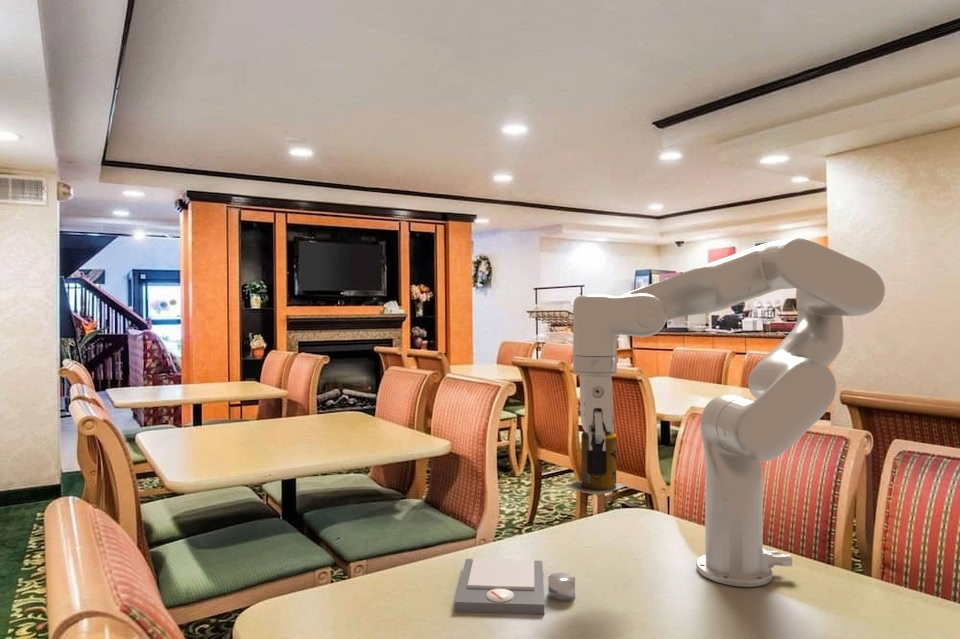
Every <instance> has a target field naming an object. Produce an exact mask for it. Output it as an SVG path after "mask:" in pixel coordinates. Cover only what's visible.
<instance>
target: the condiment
mask: <svg viewBox="0 0 960 639" xmlns="http://www.w3.org/2000/svg"><path fill="white" fill-rule="evenodd" d="M593 419H594V416H593ZM613 421H614V422H615V418H613ZM591 432H595V429H591ZM593 437H595V436H592V439H593ZM580 442H581V443H580V444H581V449H580V450H581V452H580V453H581V454H580V455H581V460H580V461H581V463H580V465H581V466H580V468H581V470H580V471H581V472H580V477H581V479H580V480H579V481H575V482H572V483H569V484H565V485H563V487H566V488H568V489H570V490H575V491H578V492H582V493H583V494H584V493H586V494H589V495H595V496H600V495H604V494H606V493H610V492H613V491H616V490H619V489H622V488H624V487H626V486H627V484H622V483H617V434H616V433H615V427H614V432H613V433H612V434H609V432H607V430H606V427H605V442H606V451H607V472H606V474H588V473H587V450H589V440H588V433H586V432H585V431H584V430H583V431H582V433H581V441H580Z"/></svg>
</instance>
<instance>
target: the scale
mask: <svg viewBox="0 0 960 639" xmlns="http://www.w3.org/2000/svg"><path fill="white" fill-rule="evenodd" d="M543 563H544V562H543V560H534V559H514V558H513V559H512V558H511V559H507V558H465V560H464V564H463V565H464V566H463V568H462V573H461V577H460V580H459V584H458V588H457V590H456V591H457V592H456V595H455V598H454V612H460V613H461V612H462V613H463V612H466V613H468V612H470V613H493V614H495V613H497V614H498V613H499V614H526V615H531V614H532V615H545V592H544V590H545V589H544V587H545V586H544V567H543Z"/></svg>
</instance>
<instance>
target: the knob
mask: <svg viewBox="0 0 960 639" xmlns="http://www.w3.org/2000/svg"><path fill="white" fill-rule="evenodd" d="M547 577H548V578H547V579H548V588H547V589H548V590H547V591H548V594H547V595H548V598H549V599H550V600H551V601H554V602H557V601H558V602H557V603H569V602H572V601H574V600H575V599H576V578H575V576H574V575H572V574H569V573H567V572H566V573H565V572H555V573H552V574H550V575H548V576H547ZM573 599H574V600H573ZM571 600H572V601H571Z"/></svg>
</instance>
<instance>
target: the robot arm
mask: <svg viewBox="0 0 960 639" xmlns="http://www.w3.org/2000/svg"><path fill="white" fill-rule="evenodd" d="M885 288H886V287H885V283H884V281H883V279H882V277H881V276H880V274H879V273H878V272H877V271H876V270H875V269H874V268H872V267H871V266H869V265H867V264H865V263H862V262H860V261H858V260H856V259H853V258H852V257H849V256H847V255H844V254H843V253H840V252H838V251H836V250H833V249H831V248H829V247H827V246H824V245H822V244H820V243H817V242H814V241H812V240H809V239H805V238H801V237H792V238H787V239H781V240H776V241H771V242H770V241H769V242H766V243H763V244H760V245H756V246H754V247H750V248H748V249H746V250H743V251H741V252H738V253H737V252H736V253H734V254H732V255H730V256H727V257H724V258H721V259H718V260H716V261H712V262H709V263H707V264H704V265H701V266H698V267H694V268H692V269H690V270H687V271H684V272H682V273H679V274H677V275H674V276H672V277H668V278H665V279H663V280H660V281H657V282H654V283H651V284H648V285H645V286H642V287H640V288H637V289H634V290H630V291H629V292H626V293H623V294H620V295H618V296H613V295H609V294H582V295H579V296H576V298H574V300H573V304H572V307H573V308H572V311H573V313H572V323H573V324H572V325H573V326H572V328H573V329H572V331H573V332H572V336H573V337H572V338H573V340H572V346H573V347H572V374H573V375H575V376H579V408H580V411H579V412H580V420H581V421H580V422H581V426H582V429H583V431H585V432H586V433H588V440H589V450H587V473H588V474H606V472H607V451H606V442H605V427H606V430H607V432H609V434H612V433H613V432H614V433H615V430H614V428H615V420H614V421H613V419H614V397H613V396H614V395H613V394H614V393H613V380H612V376H617V375H618V335H621V336H622V335H623V336H630V337H636V338H648V337H651V336H654V335H656V334H658V333H659V332H660V331H661V330H662V329H663V328H664V327H665V324H666V323H667V321H670V320H674V319H678V318H682V317H688V316H697V315H705V314H712V313H715V312H719V311H723V310H726V309H729V308H732V307H734V306H737V305H739V304H741V303H744V302H747V301H750V300H753V299H755V298H758V297H761V296H765V295H767V294H769V293H773V292H775V291H779V290H789V289H795V300H796V306H797V308H796V309H797V318H796V322H795V324H794V327H793V329H791V331H790V332H789V333H788V335H786V336H785V337H784V339H783V340H782V341H780V343H778V344H777V345H776V346H775V347H774V348H773V349H771V351H770V352H769V353H768V354H767V355H766V356H764V357H763V358H762V359H761V360H760V361H759V362H758V363H757V364H756V365H755V366H754V367H753V369H752V370H751V371H750V373H749V376H748V379H747V385H748V390H749V392H750V394H751V395H752V396H753V397H754V398H755V400H754V399H751V398H747V397H744V396H740V395H736V394H721V395H718V396H716V397H715V398H712V399H711V400H710V401H709V402H708V403H707V404H706V406H705V407H704V408H703V410H702V414H701V419H700V430H701V431H700V433H701V438H702V444H703V452H704V462H705V463H704V464H705V466H704V467H705V469H704V470H705V483H704V484H705V485H704V486H705V488H704V489H705V490H704V491H705V492H704V494H705V499H704V500H705V506H704V507H705V510H704V511H705V515H704V516H705V518H704V519H705V523H704V524H705V527H704V528H705V530H704V531H705V542H704V543H705V546H704V547H705V549H704V550H705V552H704V553H705V554H703V555H701V556H699V557H698V558H697V560H696V570H697V571H698V573H700V574H701V576H703V577H705V578H707V579H708V580H710V581H713V582H715V583H719V584H722V585H728V586H732V587H733V586H734V587H741V588H742V587H743V588H754V587H756V588H757V587H761V586H764V585H768V584H769V583H770V582H772V579H773V573H774V572H773V570H772V569H773V568H774V567H775V566H778V567H793V558H792V556H791V554H779V551H778V550H766V549H765V548H764V547H763V545H764V543H763V540H764V539H763V537H764V535H763V534H764V530H763V527H764V519H763V518H764V517H763V516H764V509H763V508H764V507H763V506H764V505H763V504H764V502H763V501H764V496H763V495H764V494H763V493H764V472H763V465H762V462H767V461H768V462H769V461H771V460H774V459H776V458H778V457H780V456H781V455H783V453H785V452H786V451H788V450H789V449H790V448H791V447H792V446H793V445H794V444H795V443H796V442H797V441H798V440H799V439H800V438H802V437H803V436H804V435H805V434H806V433H807V432H808V430H810V429H811V428H812V427H813V426H814V425H815V424H816V423H818V421H819V420H820V419H821V418H822V417H823V416H824V415H825V413H826V412H827V411H829V409H830V407H831V406H832V404H833V402H834V400H835V396H836V392H837V382H836V378H835V376H834V374H833V372H832V371H831V369H830V368H829V366H830V365H831V364H832V363H833V362H834V361H835V360H836V358H837V357H838V356H839V354H840V352H841V351H842V348H843V344H844V324H843V323H844V321H843V317H857V316H858V317H859V316H865V315H867V314H870V313H872V312H875V310H876V309H878V307H880V305H881V304H882V303H883V300H884V297H885V291H886V289H885ZM593 416H594V419H593ZM591 429H595V432H591ZM592 436H595V437H593V439H592Z"/></svg>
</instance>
